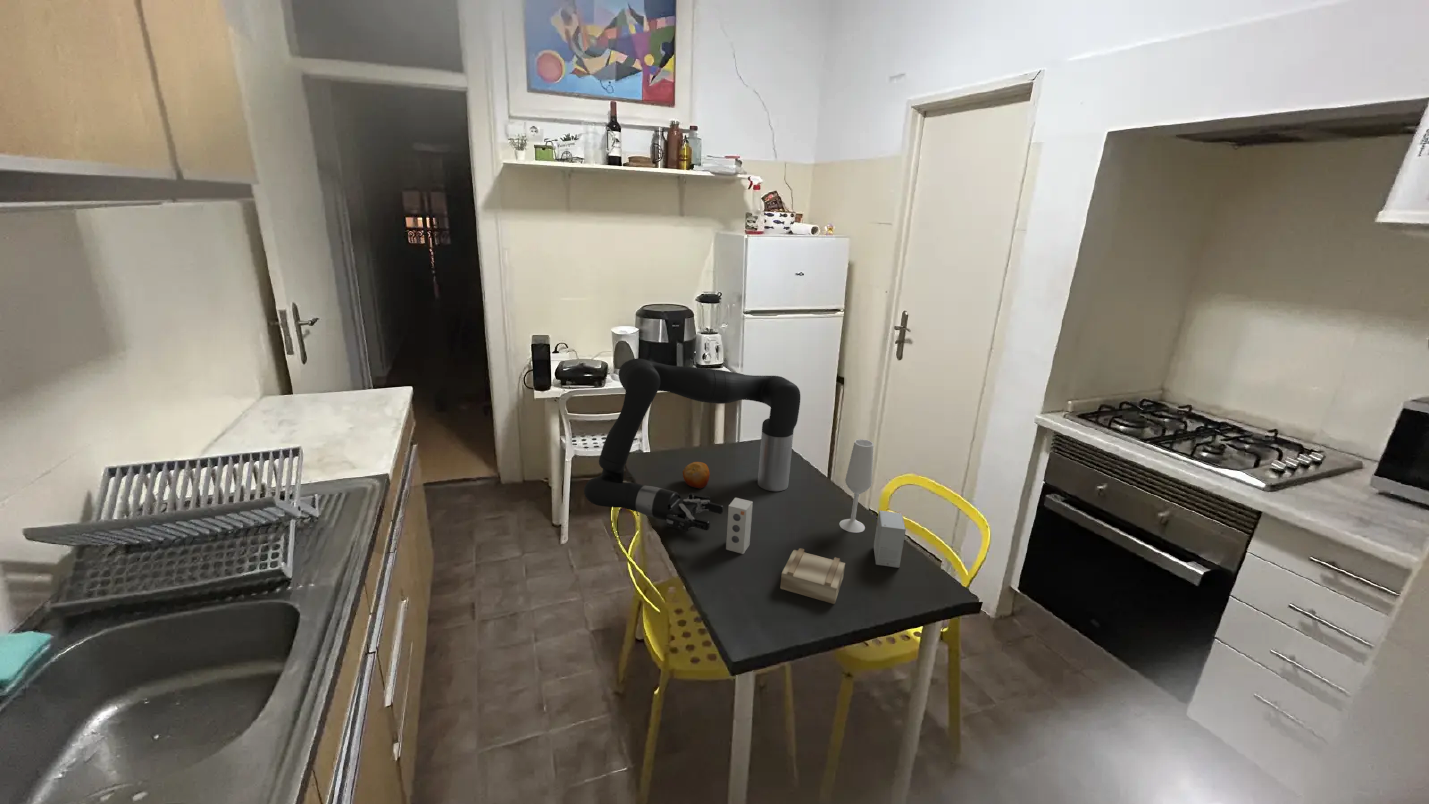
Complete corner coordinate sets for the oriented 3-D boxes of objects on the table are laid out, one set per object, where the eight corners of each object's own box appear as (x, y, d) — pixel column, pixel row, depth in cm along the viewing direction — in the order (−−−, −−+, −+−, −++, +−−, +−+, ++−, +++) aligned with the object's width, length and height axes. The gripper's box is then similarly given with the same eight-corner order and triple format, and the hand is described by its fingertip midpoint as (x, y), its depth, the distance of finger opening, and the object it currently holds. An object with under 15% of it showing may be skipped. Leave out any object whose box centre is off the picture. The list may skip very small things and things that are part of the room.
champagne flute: (870, 528, 150) (883, 445, 142) (851, 535, 147) (863, 450, 139) (852, 517, 156) (864, 436, 148) (834, 522, 152) (844, 440, 145)
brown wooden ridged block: (792, 564, 134) (793, 546, 132) (843, 578, 130) (845, 560, 128) (780, 588, 125) (782, 570, 123) (834, 604, 121) (837, 585, 119)
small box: (899, 568, 134) (906, 530, 131) (874, 565, 135) (881, 526, 132) (896, 550, 141) (902, 512, 138) (873, 546, 142) (878, 509, 139)
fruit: (718, 477, 172) (711, 461, 166) (705, 498, 167) (698, 482, 162) (696, 470, 176) (689, 454, 170) (683, 490, 171) (675, 474, 166)
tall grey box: (732, 540, 142) (735, 497, 138) (749, 544, 141) (752, 501, 137) (725, 549, 138) (728, 506, 134) (743, 554, 137) (746, 510, 133)
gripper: (644, 502, 138) (705, 517, 132) (670, 478, 150) (727, 491, 145) (643, 529, 140) (704, 545, 135) (670, 503, 153) (726, 517, 147)
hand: (716, 517), depth 140 cm, fingers open, 8 cm apart
